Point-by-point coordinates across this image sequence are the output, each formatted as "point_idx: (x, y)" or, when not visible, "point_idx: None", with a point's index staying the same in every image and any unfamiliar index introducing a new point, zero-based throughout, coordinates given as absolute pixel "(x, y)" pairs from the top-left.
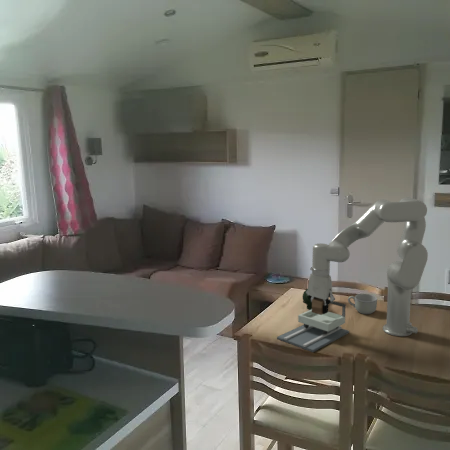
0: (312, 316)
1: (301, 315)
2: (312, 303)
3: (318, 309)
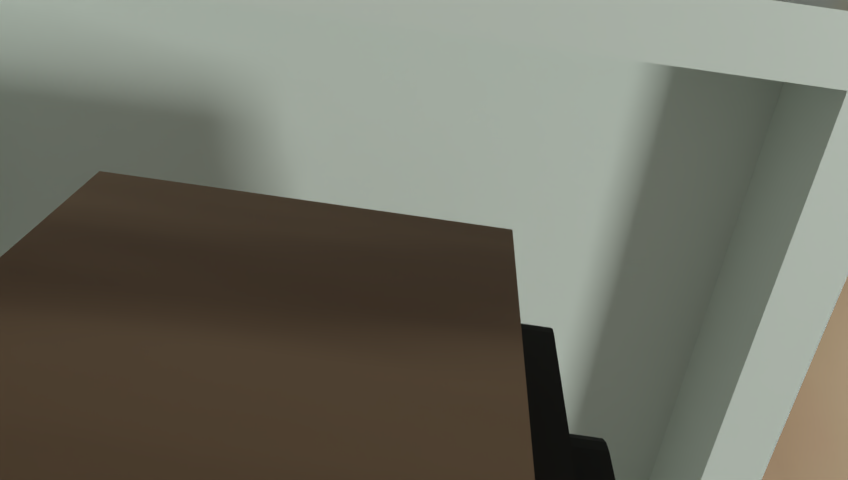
0: (603, 364)
1: (836, 58)
2: (495, 464)
3: (158, 278)
